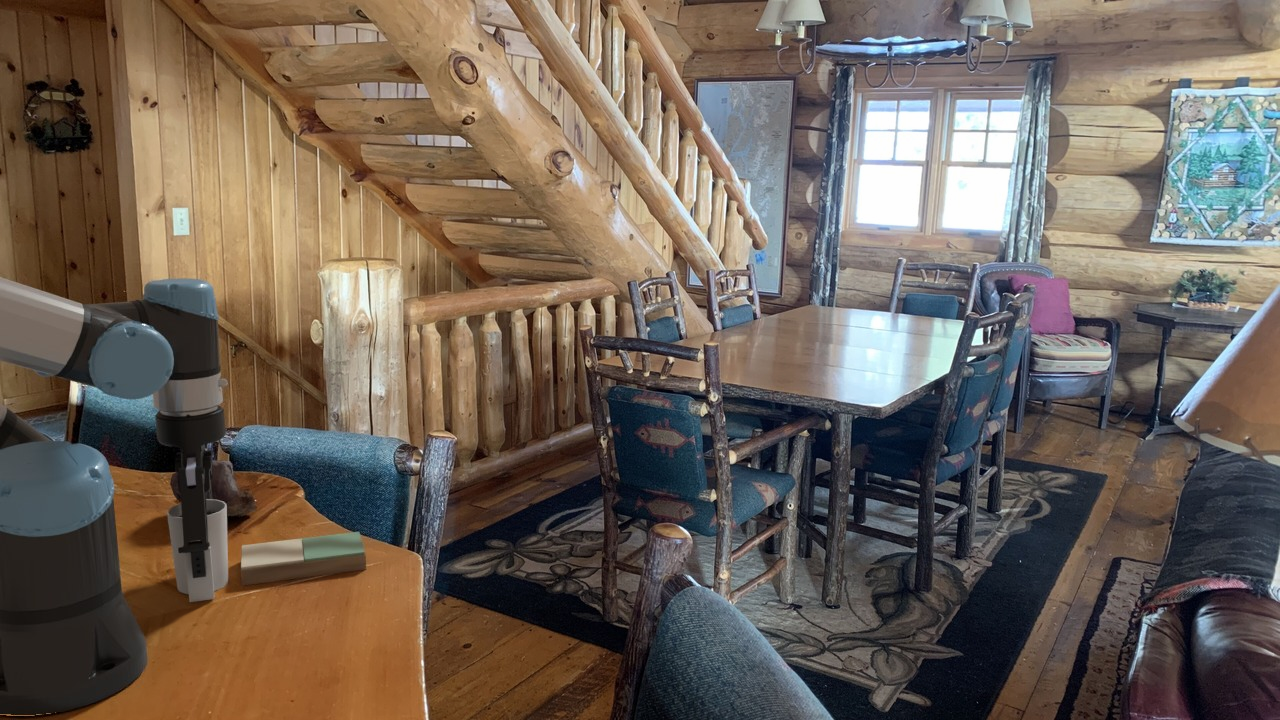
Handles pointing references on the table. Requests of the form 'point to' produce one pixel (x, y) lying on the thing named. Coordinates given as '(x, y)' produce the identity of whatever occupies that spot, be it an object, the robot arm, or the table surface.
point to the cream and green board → (302, 558)
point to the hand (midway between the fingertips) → (204, 582)
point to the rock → (224, 489)
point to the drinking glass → (215, 538)
